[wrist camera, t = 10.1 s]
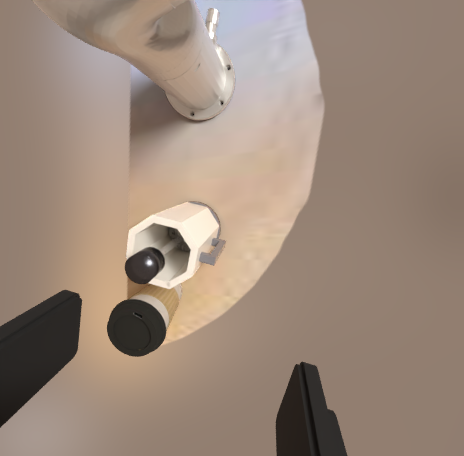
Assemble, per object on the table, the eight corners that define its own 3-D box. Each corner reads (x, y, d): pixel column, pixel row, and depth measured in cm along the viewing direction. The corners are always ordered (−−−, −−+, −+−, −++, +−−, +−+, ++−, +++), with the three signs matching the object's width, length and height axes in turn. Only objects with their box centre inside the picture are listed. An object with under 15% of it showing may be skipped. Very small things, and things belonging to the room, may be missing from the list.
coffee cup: (141, 298, 55) (96, 344, 40) (154, 261, 52) (111, 295, 38) (182, 317, 55) (150, 369, 40) (197, 279, 52) (169, 321, 37)
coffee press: (173, 195, 49) (129, 206, 33) (235, 211, 48) (219, 230, 32) (165, 245, 51) (121, 277, 36) (224, 261, 50) (204, 301, 35)
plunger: (174, 208, 46) (113, 232, 28) (211, 218, 45) (174, 248, 27) (167, 244, 47) (107, 288, 30) (203, 254, 47) (164, 305, 29)
